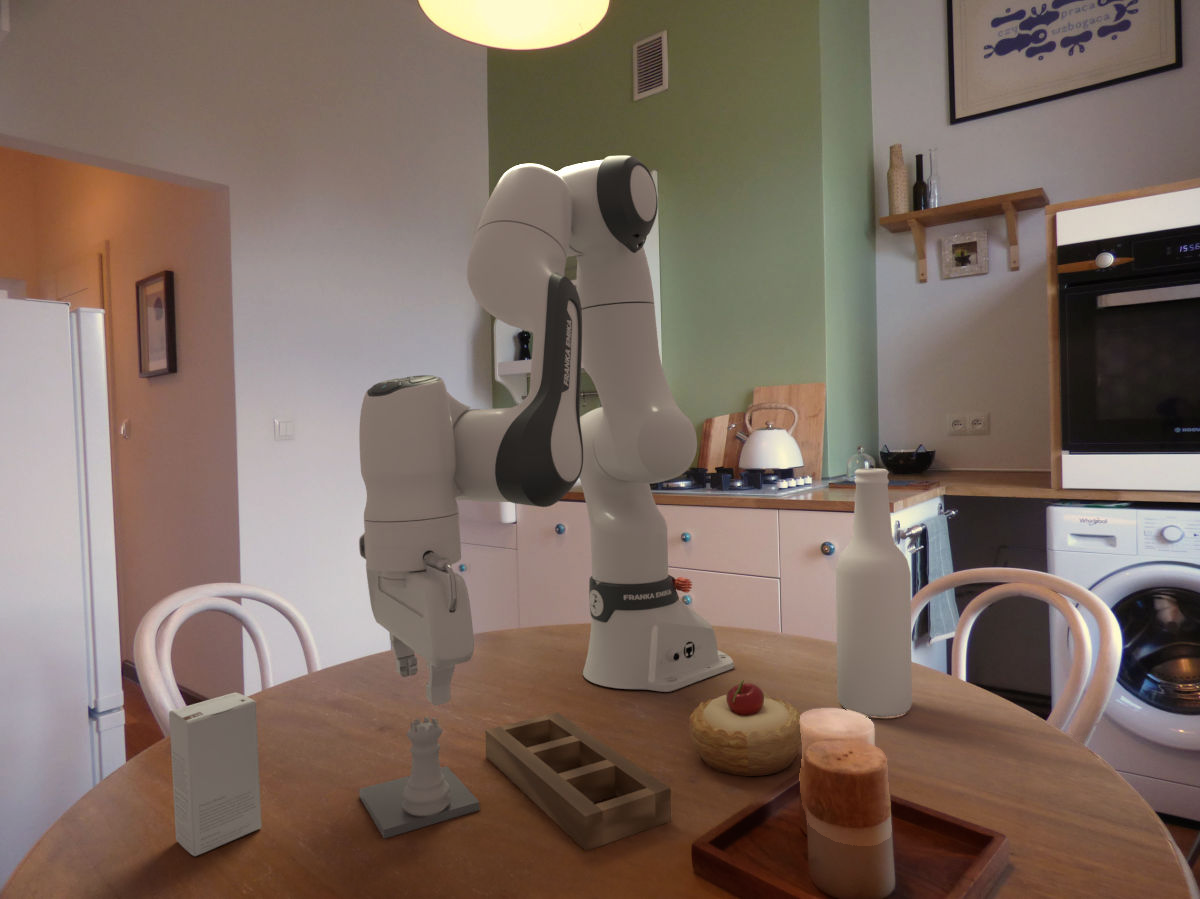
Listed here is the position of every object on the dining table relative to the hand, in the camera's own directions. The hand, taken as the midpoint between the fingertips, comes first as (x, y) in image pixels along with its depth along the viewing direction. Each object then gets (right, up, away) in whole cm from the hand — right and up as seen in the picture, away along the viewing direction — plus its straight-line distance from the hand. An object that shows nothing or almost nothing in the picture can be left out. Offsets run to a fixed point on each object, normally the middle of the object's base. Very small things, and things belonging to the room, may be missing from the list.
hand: (422, 687), depth 73 cm
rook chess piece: (+1, -11, -2) cm, 11 cm away
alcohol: (+52, -10, +22) cm, 57 cm away
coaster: (0, -11, 0) cm, 11 cm away
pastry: (+33, -11, +9) cm, 36 cm away
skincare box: (-17, -12, -5) cm, 21 cm away
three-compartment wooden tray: (+14, -11, +3) cm, 18 cm away
